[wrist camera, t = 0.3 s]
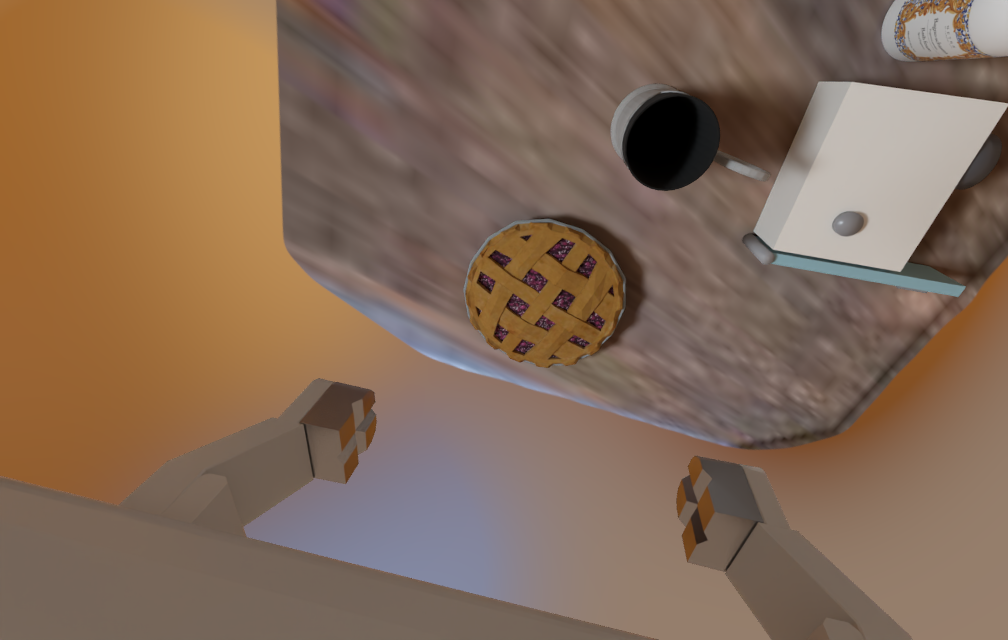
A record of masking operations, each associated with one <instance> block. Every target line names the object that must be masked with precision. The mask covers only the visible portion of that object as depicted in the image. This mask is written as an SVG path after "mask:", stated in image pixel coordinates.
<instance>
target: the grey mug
mask: <svg viewBox="0 0 1008 640" xmlns="http://www.w3.org/2000/svg"><path fill="white" fill-rule="evenodd" d="M611 139H612V144H613V146H614V149H615V151H616V152H617V154H618V155H619V156H620V157H621V159H622V160H623V161H624V163H625V165H626V166H627V167H628V168H629V170H630V172H631V173H632V175H633V176H634V177H635V178H636V179H637V180H638V181H639V182H640V183H641V184H643V185H644V186H647V187H649V188H651V189H655V190H662V191H668V190H675V189H679V188H682V187H684V186H687V185H689V184H691V183H692V182H694V181H695V180H697V179H698V178H699V177H700V176H701V175H703V174H704V172H705V171H706V170H707V169H708V168H709V166H710V165H711V163H712V162H713V161H715V162H717V163H719V164H720V165H722V166H724V167H726V168H728V169H731V170H733V171H735V172H738V173H740V174H743V175H745V176H748V177H751V178H754V179H757V180H760V181H767V180H768V179H769V177H770V176H771V174H770V173H769V172H767V171H765V170H763V169H761V168H759V167H757V166H755V165H752V164H750V163H748V162H746V161H743V160H741V159H738V158H736V157H734V156H731V155H729V154H726V153H724V152H721V151H719V150H718V147H719V142H720V128H719V124H718V120H717V118H716V116H715V114H714V112H713V111H712V109H711V108H710V107H709V106H708V105H707V104H706V103H705V102H703V101H702V100H700V99H698V98H696V97H693V96H690V95H688V94H686V93H684V92H680V91H678V90H677V89H675V88H673V87H671V86H669V85H665V84H649V85H645V86H643V87H640V88H638V89H636V90H634V91H633V92H631V93H630V94H629V95H628V96H627V97H626V98H625V99H624V100H623V101H622V102H621V103H620V105H619V106H618V108H617V110H616V112H615V114H614V117H613V120H612V124H611Z"/></svg>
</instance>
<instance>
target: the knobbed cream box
mask: <svg viewBox="0 0 1008 640" xmlns="http://www.w3.org/2000/svg"><path fill="white" fill-rule="evenodd" d="M1007 107H1008V103H1002V102H994V101H987V100H980V99H972V98H965V97H958V96H951V95H943V94H936V93H929V92H921V91H914V90H907V89H900V88H892V87H885V86H878V85H871V84H863V83H856V82H818V85H817V87H816V89H815V92H814V94H813V96H812V98H811V101H810V103H809V105H808V108H807V110H806V112H805V115H804V117H803V119H802V121H801V124H800V126H799V128H798V131H797V133H796V135H795V137H794V140H793V142H792V144H791V147H790V149H789V151H788V154H787V156H786V158H785V160H784V163H783V165H782V167H781V170H780V172H779V174H778V177H777V179H776V181H775V183H774V186H773V188H772V190H771V193H770V195H769V197H768V199H767V202H766V204H765V206H764V209H763V211H762V213H761V216H760V218H759V220H758V222H757V225H756V227H755V229H754V232H755V233H756V234H757V235H758V236H759V237H760V238H761V239H762V240H763V241H764V242H765V243H766V244H767V245H768V246H770V247H771V248H772V249H773V250H778V251H783V252H789V253H795V254H800V255H806V256H812V257H818V258H823V259H829V260H835V261H841V262H846V263H852V264H858V265H863V266H869V267H875V268H881V269H886V270H892V271H898V272H901V270H902V269H903V267H904V266H905V264H906V263H907V261H908V260H909V258H910V257H911V255H912V253H913V252H914V250H915V249H916V247H917V246H918V244H919V243H920V241H921V240H922V238H923V236H924V235H925V233H926V232H927V230H928V229H929V227H930V226H931V224H932V223H933V221H934V219H935V218H936V216H937V215H938V213H939V212H940V210H941V209H942V207H943V206H944V204H945V203H946V201H947V199H948V198H949V196H950V195H951V193H952V192H953V190H954V189H959V190H962V189H967V188H970V187H972V186H974V185H976V184H978V183H979V182H980V181H982V180H983V179H984V178H985V177H986V176H987V175H988V174H989V173H990V172H991V171H992V170H993V168H994V167H995V165H996V164H997V162H998V160H999V157H1000V155H1001V150H1002V143H1001V140H1000V138H999V137H998V136H997V135H994V134H990V133H991V132H992V130H993V128H994V127H995V125H996V124H997V122H998V121H999V119H1000V118H1001V116H1002V115H1003V113H1004V112H1005V110H1006V108H1007Z"/></svg>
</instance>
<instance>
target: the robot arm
mask: <svg viewBox="0 0 1008 640" xmlns="http://www.w3.org/2000/svg"><path fill="white" fill-rule="evenodd" d="M374 403H375V395H374V392H373V391H372V390H369V389H365V388H360V387H356V386H352V385H347V384H343V383H339V382H332V381H328V380H324V379H320V378H319V379H316V380H314V381H312V382H311V383H310V385H309V386H308V387H307V388H306V389H305V390H304V391H303V392H302V393H301V394H300V395H299V396H298V397H297V399H296V400H295V401H294V402H293V403H292V404H291V405H290V406H289V407H288V408H287V409H286V410H285V411H284V412H283V414H282V415H281V416H280V417H279V418H278V419H277V418H270V419H268V420H265V421H263V422H261V423H258V424H256V425H253V426H251V427H248V428H246V429H244V430H241V431H239V432H237V433H234V434H232V435H229V436H227V437H224V438H222V439H220V440H217V441H215V442H212V443H210V444H208V445H205V446H203V447H200V448H198V449H196V450H193V451H191V452H189V453H186V454H184V455H182V456H179V457H177V458H174V459H172V460H169V461H167V462H166V463H165V464H164V465H163V466H162V467H160V468H159V469H158V470H157V471H156V472H155V473H154V474H153V475H151V477H149V478H148V479H147V480H146V481H145V482H144V483H143V484H141V485H140V486H139V487H138V488H137V489H136V490H135V491H134V492H132V493H131V494H130V495H129V496H128V497H127V498H126V499H125V500H123V501H122V502H121V503H120V504H119V505H115V504H111V503H107V502H103V501H99V500H95V499H91V498H87V497H83V496H79V495H75V494H71V493H67V492H62V491H59V490H55V489H51V488H46V487H43V486H39V485H35V484H31V483H27V482H23V481H18V480H14V479H11V478H7V477H3V476H0V640H658V639H654V638H650V637H645V636H642V635H638V634H634V633H629V632H626V631H622V630H618V629H613V628H609V627H605V626H601V625H597V624H593V623H589V622H585V621H581V620H577V619H573V618H569V617H565V616H561V615H557V614H552V613H549V612H545V611H541V610H537V609H533V608H529V607H525V606H521V605H517V604H512V603H509V602H505V601H500V600H497V599H493V598H488V597H485V596H480V595H476V594H472V593H468V592H464V591H460V590H456V589H452V588H448V587H444V586H440V585H436V584H432V583H428V582H424V581H420V580H416V579H412V578H408V577H404V576H400V575H396V574H392V573H388V572H384V571H380V570H376V569H372V568H368V567H364V566H360V565H356V564H352V563H348V562H344V561H339V560H336V559H332V558H328V557H324V556H319V555H316V554H312V553H308V552H304V551H300V550H295V549H292V548H288V547H283V546H280V545H276V544H272V543H268V542H264V541H259V540H255V539H252V538H247V537H246V534H245V531H244V528H243V527H244V526H245V525H247V524H248V523H250V522H251V521H253V520H254V519H256V518H257V517H259V516H260V515H262V514H263V513H265V512H266V511H268V510H269V509H270V508H272V507H273V506H275V505H276V504H278V503H279V502H281V501H282V500H284V499H285V498H287V497H288V496H290V495H291V494H293V493H294V492H296V491H297V490H299V489H300V488H301V487H303V486H305V485H306V484H308V483H309V482H311V481H312V480H313V478H318V479H323V480H328V481H333V482H338V483H343V484H346V483H347V481H348V480H349V478H350V477H351V475H352V473H353V472H354V470H355V468H356V467H357V465H358V455H359V454H360V453H362V452H364V451H366V450H367V449H368V447H369V445H370V443H371V442H372V439H373V436H374V433H375V431H376V423H377V420H376V414H375V413H374V411H373V410H372V409H371V408H372V406H373V405H374ZM688 470H689V474H690V475H689V476H687V477H685V478H683V479H682V480H681V482H680V485H679V487H678V492H677V499H676V504H677V513H678V518H679V520H680V521H681V522H682V523H683V524H684V525H685V527H686V528H685V530H684V532H683V534H682V539H683V544H684V549H685V553H686V559H687V562H688V563H692V564H696V565H700V566H704V567H708V568H712V569H716V570H720V571H723V572H726V573H725V574H726V576H727V577H728V579H729V580H730V582H731V583H732V584H733V586H734V587H735V588H736V590H737V591H738V593H739V594H740V596H741V597H742V599H743V600H744V601H745V603H746V604H747V606H748V607H749V608H750V610H751V611H752V613H753V614H754V615H755V617H756V618H757V620H758V621H759V622H760V624H761V625H762V627H763V628H764V629H765V631H766V632H767V634H768V635H769V637H770V638H771V639H772V640H912V638H911V636H910V635H909V634H908V633H907V632H906V631H905V630H904V629H903V628H901V627H900V626H899V625H898V624H897V623H896V622H895V621H894V620H893V619H892V618H891V617H890V616H889V615H888V614H886V613H885V612H884V611H883V610H882V609H881V608H880V607H879V606H878V605H877V604H876V603H875V602H874V601H872V600H871V599H870V598H869V597H868V596H867V595H866V594H865V593H864V592H863V591H862V590H861V589H859V588H858V587H857V586H856V585H855V584H854V583H853V582H852V581H851V580H850V579H849V578H848V577H847V576H846V575H844V574H843V573H842V572H841V571H840V570H839V569H838V568H837V567H836V566H835V565H834V564H833V563H831V562H830V561H829V560H828V559H827V558H826V557H825V556H824V555H823V554H822V553H821V552H820V551H819V550H818V549H817V548H815V547H814V546H813V545H812V544H811V543H810V542H809V541H808V540H807V539H806V538H805V537H804V536H803V535H801V534H800V533H799V532H798V531H795V530H791V529H790V527H789V524H788V522H787V520H786V518H785V515H784V513H783V511H782V509H781V506H780V505H779V502H778V500H777V498H776V495H775V493H774V491H773V489H772V486H771V484H770V482H769V480H768V478H767V475H766V473H765V472H764V471H763V470H762V469H761V468H757V467H752V466H747V465H742V464H735V463H730V462H725V461H720V460H715V459H710V458H705V457H699V456H694V457H693V458H692V459H691V461H690V463H689V465H688Z"/></svg>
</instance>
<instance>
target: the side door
mask: <svg viewBox="0 0 1008 640" xmlns="http://www.w3.org/2000/svg"><path fill="white" fill-rule="evenodd" d="M742 241H743V243H744V244H745V245H746V246H747V247H748V249H749V250H750V251H751V252H752V253H753V254H754V255H755V256H756V257H757V258H758V259H759V260H760V262H761V263H762V264H765V265H768V264H776V265H782V266H788V267H793V268H799V269H804V270H810V271H816V272H821V273H827V274H833V275H838V276H844V277H850V278H855V279H861V280H866V281H872V282H878V283H883V284H889V285H894V286H896V287H897V288H900V289H906V290H912V291H917V292H923V293H927V292H934V293H940V294H945V295H951V296H957V297H959V295H960V294H961V293H962V291H963V290H964V289H965V287H966V286H964V285H962V284H960V283H958V282H957V281H955V280H953V279H951V278H949V277H947V276H946V275H944V274H942V273H940V272H938V271H937V270H935V269H933V268H931V267H929V266H925V265H920V264H914V263H908V262H907V263H906V264H905V266H904V267H903V269H902V270H901V272H898V271H892V270H886V269H881V268H875V267H869V266H863V265H858V264H852V263H846V262H841V261H835V260H829V259H823V258H818V257H812V256H806V255H800V254H795V253H789V252H783V251H778V250H773V249H772V248H771V247H770V246H768V245H767V244H766V243H765V242H764V241H763V240H762V239H761V238H760V237H757V236H754V235H753V234H747V235H745V236H744V237H743V240H742Z"/></svg>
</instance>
